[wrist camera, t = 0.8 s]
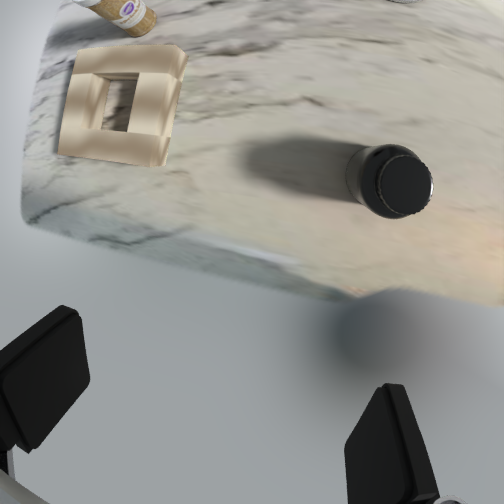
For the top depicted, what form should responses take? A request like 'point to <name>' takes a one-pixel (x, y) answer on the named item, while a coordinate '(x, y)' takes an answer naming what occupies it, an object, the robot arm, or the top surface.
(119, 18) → the sprinkles bottle
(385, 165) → the supplement bottle
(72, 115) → the socket block
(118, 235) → the top surface
